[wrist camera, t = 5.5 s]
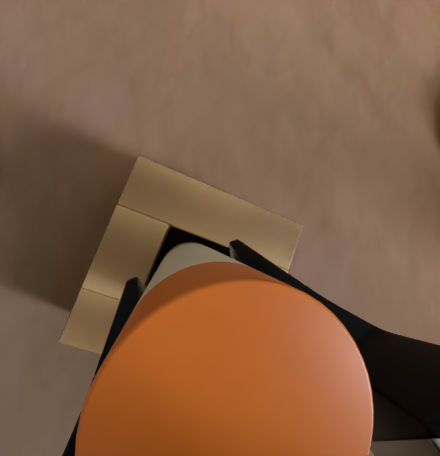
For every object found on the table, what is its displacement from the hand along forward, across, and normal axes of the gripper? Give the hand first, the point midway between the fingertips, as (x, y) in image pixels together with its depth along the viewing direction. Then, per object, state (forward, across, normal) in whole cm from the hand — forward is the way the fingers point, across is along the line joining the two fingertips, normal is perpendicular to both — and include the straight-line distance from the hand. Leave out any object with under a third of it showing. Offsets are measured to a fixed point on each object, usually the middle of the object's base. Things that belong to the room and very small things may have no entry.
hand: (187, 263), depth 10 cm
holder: (+4, 0, +6) cm, 7 cm away
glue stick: (+4, 0, +6) cm, 7 cm away
